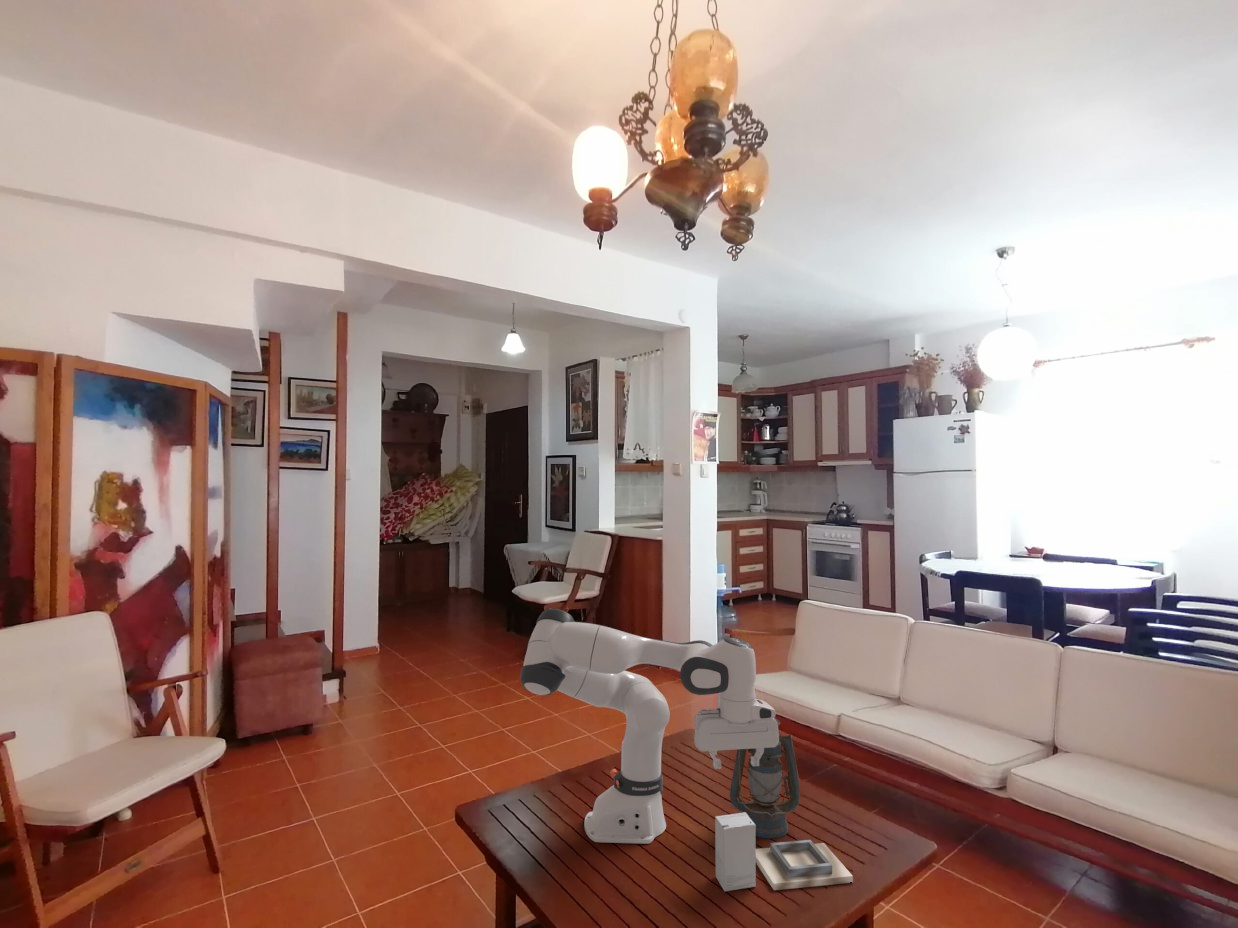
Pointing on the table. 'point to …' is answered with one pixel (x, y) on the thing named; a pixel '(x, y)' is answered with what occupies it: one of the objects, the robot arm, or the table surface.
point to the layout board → (800, 865)
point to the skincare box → (735, 851)
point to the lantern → (768, 788)
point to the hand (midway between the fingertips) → (736, 766)
